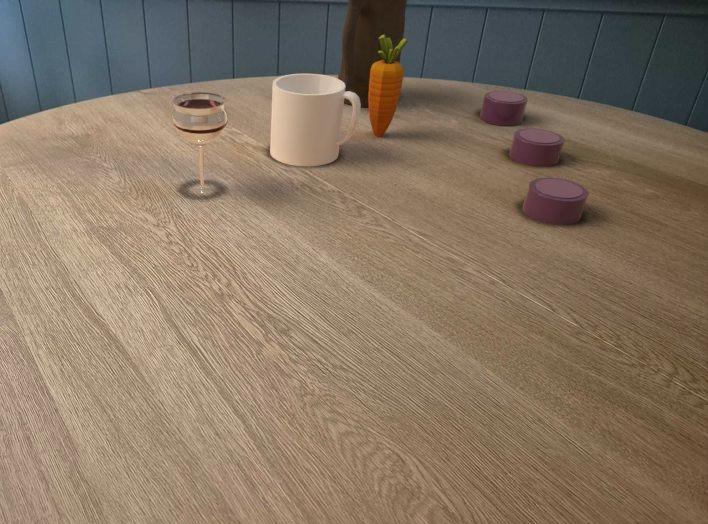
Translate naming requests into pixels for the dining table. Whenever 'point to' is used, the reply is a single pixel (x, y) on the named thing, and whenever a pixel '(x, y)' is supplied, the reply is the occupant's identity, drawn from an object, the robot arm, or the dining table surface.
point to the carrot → (385, 86)
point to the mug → (309, 118)
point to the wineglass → (200, 122)
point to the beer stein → (368, 41)
